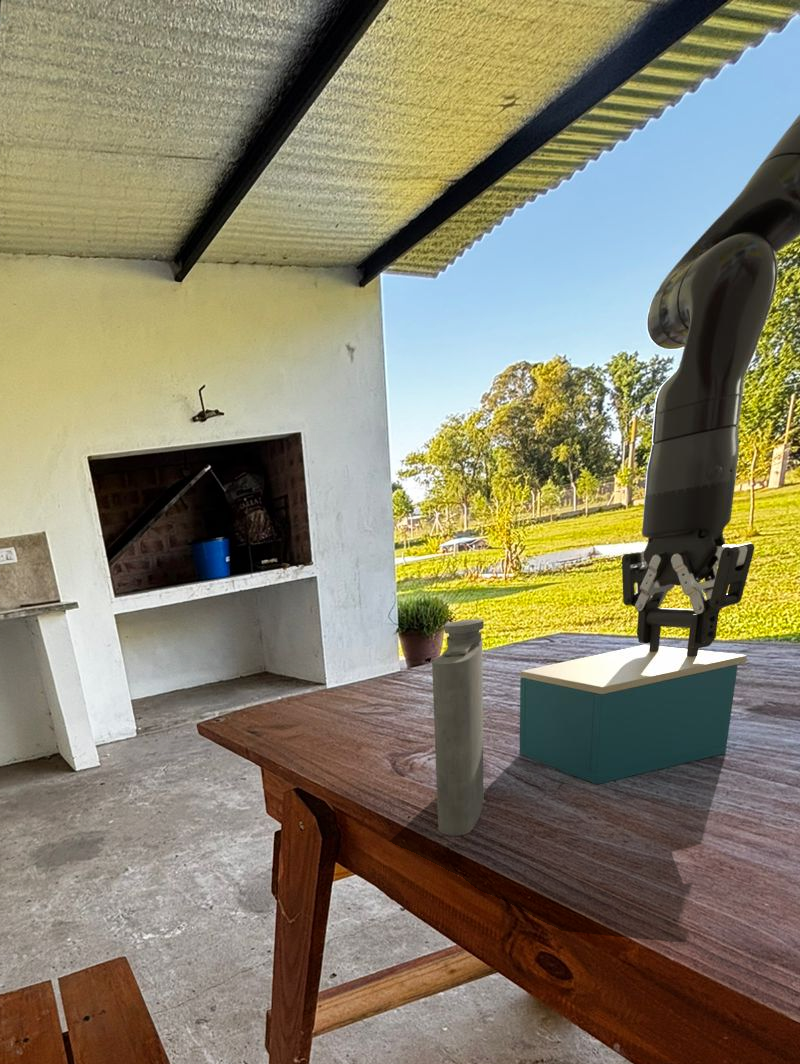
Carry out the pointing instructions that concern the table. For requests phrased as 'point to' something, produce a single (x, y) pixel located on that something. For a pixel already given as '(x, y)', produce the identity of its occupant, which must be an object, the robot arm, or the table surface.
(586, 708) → the box
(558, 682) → the lid
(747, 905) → the table surface
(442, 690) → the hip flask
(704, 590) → the robot arm
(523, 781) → the table surface
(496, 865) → the table surface
